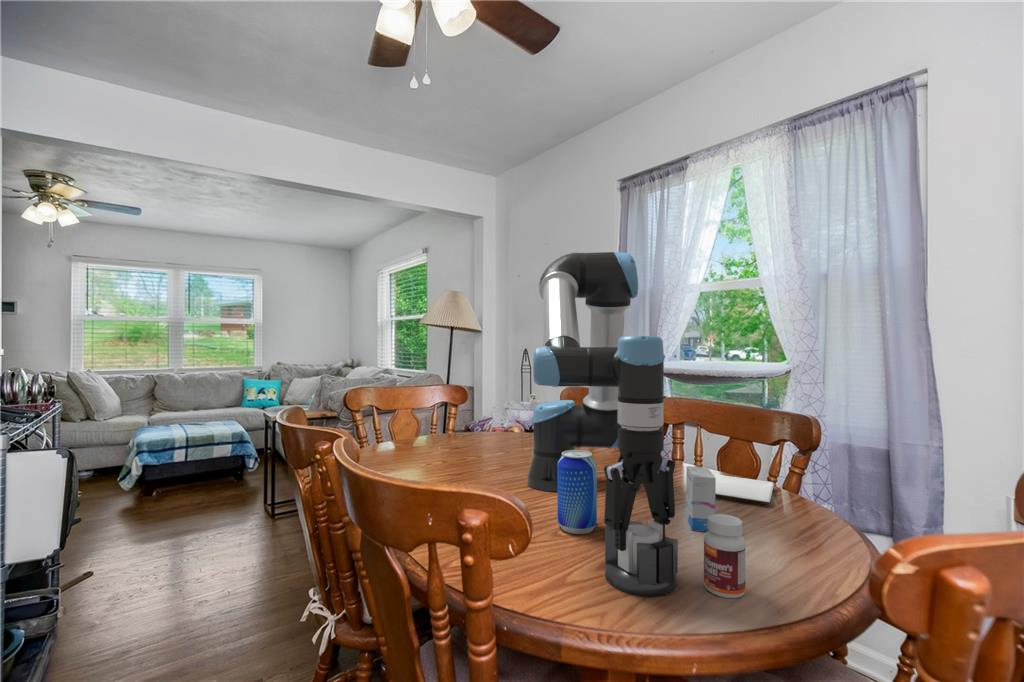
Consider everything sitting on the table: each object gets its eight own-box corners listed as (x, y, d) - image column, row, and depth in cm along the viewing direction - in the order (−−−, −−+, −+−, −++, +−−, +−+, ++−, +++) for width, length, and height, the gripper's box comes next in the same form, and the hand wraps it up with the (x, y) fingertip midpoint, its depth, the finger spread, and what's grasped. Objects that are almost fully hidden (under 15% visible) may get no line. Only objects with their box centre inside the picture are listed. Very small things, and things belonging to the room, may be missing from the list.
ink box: (716, 533, 99) (716, 476, 99) (691, 531, 100) (691, 475, 100) (708, 518, 108) (708, 466, 108) (685, 516, 109) (684, 465, 109)
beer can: (601, 524, 104) (601, 451, 104) (590, 538, 96) (590, 459, 96) (564, 518, 107) (564, 447, 108) (551, 531, 100) (551, 455, 100)
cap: (615, 563, 81) (615, 526, 81) (642, 556, 84) (642, 520, 84) (638, 578, 76) (638, 539, 76) (667, 571, 78) (667, 532, 78)
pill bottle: (698, 590, 76) (698, 520, 76) (710, 576, 81) (710, 509, 81) (739, 604, 72) (739, 529, 72) (750, 588, 77) (750, 518, 77)
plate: (774, 489, 130) (774, 482, 130) (769, 509, 114) (769, 501, 114) (702, 479, 140) (702, 472, 140) (688, 496, 124) (688, 488, 124)
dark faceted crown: (591, 570, 82) (591, 527, 82) (643, 557, 87) (643, 517, 88) (636, 603, 72) (636, 554, 72) (692, 586, 77) (692, 540, 77)
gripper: (609, 435, 72) (609, 587, 72) (698, 426, 81) (698, 562, 80) (581, 427, 79) (581, 566, 79) (666, 420, 87) (666, 545, 87)
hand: (640, 564), depth 80 cm, fingers closed on cap, 6 cm apart
